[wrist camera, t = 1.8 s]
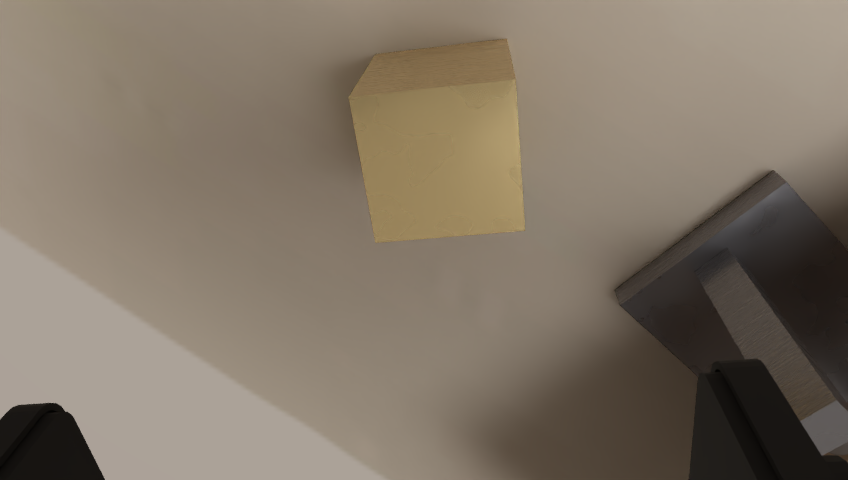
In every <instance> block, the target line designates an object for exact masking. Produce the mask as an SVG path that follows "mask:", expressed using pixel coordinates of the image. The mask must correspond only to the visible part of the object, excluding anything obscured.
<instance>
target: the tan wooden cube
mask: <svg viewBox="0 0 848 480" xmlns="http://www.w3.org/2000/svg"><path fill="white" fill-rule="evenodd" d="M349 102H350V108H351V113H352V119H353V124H354V129H355V135H356V140H357V146H358V151H359V157H360V162H361V168H362V173H363V178H364V184H365V189H366V195H367V200H368V206H369V211H370V216H371V222H372V227H373V233H374V238H375V243H379V242H391V241H404V240H416V239H429V238H441V237H453V236H466V235H478V234H491V233H503V232H515V231H525V221H524V205H523V189H522V173H521V157H520V141H519V125H518V109H517V93H516V79H515V74H514V69H513V65H512V60H511V55H510V51H509V46H508V42H507V39H501V40H492V41H483V42H475V43H466V44H458V45H449V46H441V47H432V48H424V49H415V50H406V51H398V52H389V53H381V54H375V56H374V57H373V59H372V60H371V62H370V64H369V65H368V67H367V68H366V70H365V72H364V73H363V75H362V76H361V78H360V80H359V81H358V83H357V84H356V86H355V88H354V89H353V91H352V93H351V94H350V96H349Z"/></svg>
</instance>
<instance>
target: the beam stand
mask: <svg viewBox="0 0 848 480" xmlns="http://www.w3.org/2000/svg"><path fill="white" fill-rule="evenodd" d="M615 292H616V295H617V298H618V301H619V304H620V306H621V307H622V308H624V309H625V310H626V311H627V312H628V313H629V314H630V315H631V316H632V317H633V318H634V319H636V320H637V321H638V322H639V323H640V324H641V325H642V326H643V327H644V328H645V329H647V330H648V331H649V332H650V333H651V334H652V335H653V336H654V337H655V338H656V339H657V340H659V341H660V342H661V343H662V344H663V345H664V346H665V347H666V348H667V349H668V350H669V351H671V352H672V353H673V354H674V355H675V356H676V357H677V358H678V359H679V360H680V361H681V362H683V363H684V364H685V365H686V366H687V367H688V368H689V369H690V370H691V371H692V372H693V373H695V374H696V375H697V376H698V377H699V375H700V373H706V372H711V367H712V365H713V363H714V362H716V361H727V360H743V359H759V360H761V361H762V362H763V364H764V365H765V366H766V368H767V369H768V371H769V373H770V374H771V376H772V377H773V379H774V381H775V382H776V384H777V385H778V387H779V388H780V390H781V392H782V393H783V395H784V396H785V398H786V400H787V401H788V403H789V404H790V406H791V407H792V409H793V411H794V412H795V414H796V415H797V417H798V419H799V420H800V422H801V423H802V425H803V427H804V428H805V430H806V431H807V433H808V434H809V436H810V438H811V439H812V441H813V442H814V444H815V446H816V447H817V449H818V450H819V452H820V453H821V455H824V454H826V453H828V452H830V451H832V450H834V449H835V448H837V447H839V446H841V445H843V444H845V443H846V442H848V404H847V403H848V250H847V249H846V248H845V247H844V246H843V245H842V244H841V242H840V241H839V240H838V239H837V238H836V237H835V236H834V235H833V233H832V232H831V231H830V230H829V229H828V228H827V227H826V226H825V225H824V223H823V222H822V221H821V220H820V219H819V218H818V217H817V216H816V214H815V213H814V212H813V211H812V210H811V209H810V208H809V207H808V206H807V204H806V203H805V202H804V201H803V200H802V199H801V198H800V197H799V195H798V194H797V193H796V192H795V191H794V190H793V189H792V188H791V187H790V185H789V184H788V183H787V182H786V181H785V180H784V179H783V178H782V177H780V176H779V175H778V174H777V173H776V172H775V171H774V170H773V171H772V172H771V173H770V174H768V175H767V176H766V177H764V178H763V179H762V180H760V181H759V182H758V183H756V184H755V185H754V186H752V187H751V188H750V189H748V190H747V191H746V192H744V193H743V194H742V195H740V196H739V197H738V198H736V199H735V200H734V201H732V202H731V203H730V204H728V205H727V206H726V207H724V208H723V209H722V210H720V211H719V212H718V213H716V214H715V215H714V216H713V217H711V218H710V219H709V220H707V221H706V222H705V223H703V224H702V225H701V226H699V227H698V228H697V229H695V230H694V231H693V232H691V233H690V234H689V235H687V236H686V237H685V238H683V239H682V240H681V241H679V242H678V243H677V244H675V245H674V246H673V247H671V248H670V249H669V250H667V251H666V252H665V253H663V254H662V255H661V256H659V257H658V258H657V259H656V260H654V261H653V262H652V263H650V264H649V265H648V266H646V267H645V268H644V269H642V270H641V271H640V272H638V273H637V274H636V275H634V276H633V277H632V278H630V279H629V280H628V281H626V282H625V283H624V284H622V285H621V286H620V287H618V288H617V289H616V290H615Z"/></svg>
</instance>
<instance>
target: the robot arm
mask: <svg viewBox="0 0 848 480" xmlns="http://www.w3.org/2000/svg"><path fill="white" fill-rule="evenodd" d="M0 480H105V479H104V477H103V475H102V473H101V471H100V469H99V467H98V465H97V463H96V461H95V459H94V457H93V455H92V453H91V451H90V449H89V447H88V445H87V443H86V441H85V439H84V437H83V435H82V433H81V431H80V429H79V427H78V425H77V423H76V421H75V419H74V418H73V416H72V415H71V414H70V413H68V412H65V411H64V409H63V408H62V407H61V406H60V405H58V404H56V403H43V404H27V405H18V406H15V407H13V408H11V409H10V410H9V411H8V412H7V413H6V414H5V415H4V416H3V417H2V418H1V420H0ZM689 480H848V462H847V461H846V460H844V459H843V458H841V457H840V456H838V455H821V453H820V452H819V450H818V449H817V447H816V446H815V444H814V442H813V441H812V439H811V438H810V436H809V434H808V433H807V431H806V430H805V428H804V427H803V425H802V423H801V422H800V420H799V419H798V417H797V415H796V414H795V412H794V411H793V409H792V407H791V406H790V404H789V403H788V401H787V400H786V398H785V396H784V395H783V393H782V392H781V390H780V388H779V387H778V385H777V384H776V382H775V381H774V379H773V377H772V376H771V374H770V373H769V371H768V369H767V368H766V366H765V365H764V364H763V362H762V361H761V360H759V359H743V360H727V361H716V362H714V363H713V365H712V367H711V372H706V373H700V375H699V377H698V384H697V396H696V407H695V418H694V429H693V440H692V451H691V462H690V474H689Z"/></svg>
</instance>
